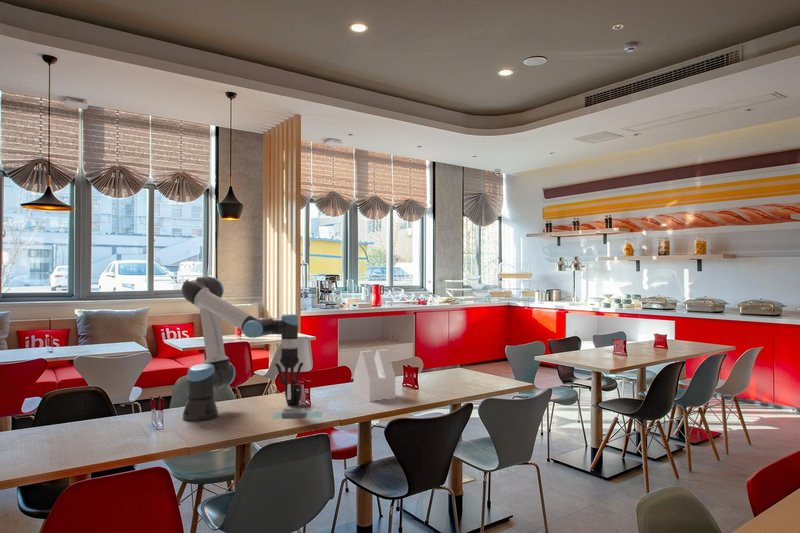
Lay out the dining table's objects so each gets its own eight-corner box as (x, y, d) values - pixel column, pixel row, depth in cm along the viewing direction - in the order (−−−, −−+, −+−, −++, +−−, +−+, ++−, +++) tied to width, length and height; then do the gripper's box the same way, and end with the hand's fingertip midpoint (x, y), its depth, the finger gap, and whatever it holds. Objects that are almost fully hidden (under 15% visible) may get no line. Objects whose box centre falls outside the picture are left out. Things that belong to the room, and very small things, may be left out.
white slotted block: (353, 395, 301) (353, 349, 301) (378, 392, 309) (378, 347, 309) (369, 401, 284) (369, 353, 285) (395, 398, 292) (395, 351, 292)
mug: (290, 409, 266) (290, 389, 267) (282, 404, 277) (282, 385, 277) (306, 407, 271) (306, 388, 271) (298, 402, 281) (298, 384, 281)
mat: (272, 419, 248) (272, 418, 248) (274, 413, 258) (274, 412, 258) (321, 417, 251) (321, 417, 251) (322, 412, 260) (322, 411, 260)
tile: (281, 413, 249) (303, 412, 250) (283, 408, 258) (305, 408, 259) (281, 417, 249) (303, 417, 250) (283, 412, 258) (305, 412, 259)
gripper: (274, 348, 250) (273, 400, 249) (303, 348, 251) (302, 400, 251) (276, 346, 257) (275, 397, 257) (304, 346, 259) (303, 396, 258)
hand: (289, 398), depth 254 cm, fingers closed
